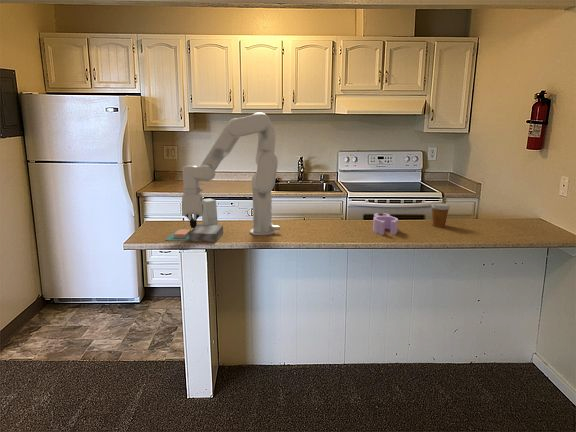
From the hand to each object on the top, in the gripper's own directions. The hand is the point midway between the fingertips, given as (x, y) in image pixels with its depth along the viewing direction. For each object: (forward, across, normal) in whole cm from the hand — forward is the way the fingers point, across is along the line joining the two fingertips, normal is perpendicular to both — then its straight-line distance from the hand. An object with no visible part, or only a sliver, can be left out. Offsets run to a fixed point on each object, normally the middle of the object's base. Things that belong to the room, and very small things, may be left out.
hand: (193, 227), depth 222 cm
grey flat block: (+5, -6, 0) cm, 8 cm away
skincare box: (+5, -3, -20) cm, 21 cm away
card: (+2, +6, 0) cm, 6 cm away
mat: (+5, +6, 0) cm, 8 cm away
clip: (+5, -96, -21) cm, 98 cm away
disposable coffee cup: (+5, -127, -32) cm, 131 cm away
